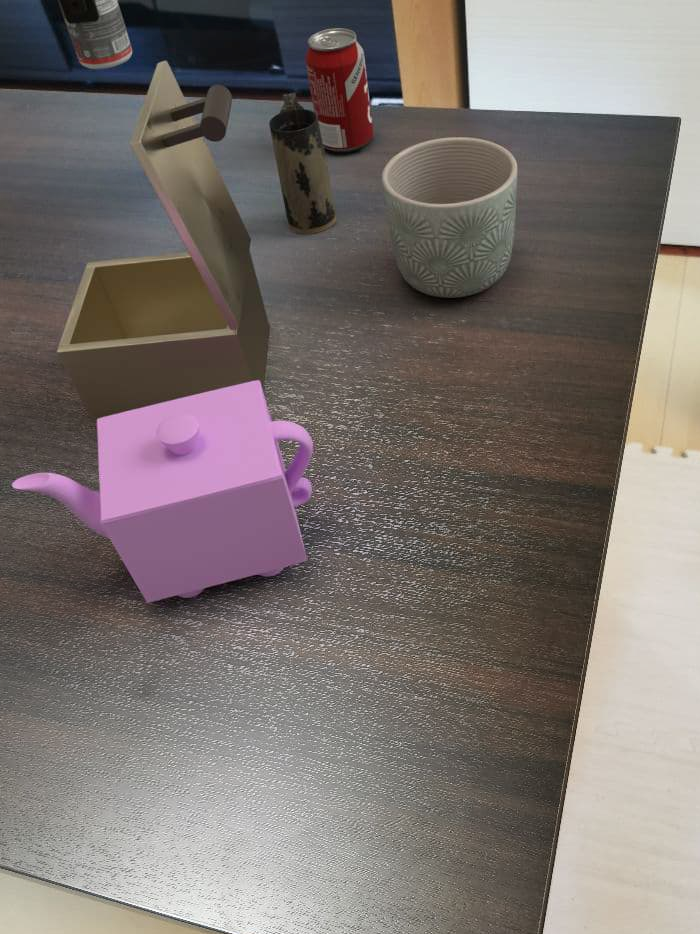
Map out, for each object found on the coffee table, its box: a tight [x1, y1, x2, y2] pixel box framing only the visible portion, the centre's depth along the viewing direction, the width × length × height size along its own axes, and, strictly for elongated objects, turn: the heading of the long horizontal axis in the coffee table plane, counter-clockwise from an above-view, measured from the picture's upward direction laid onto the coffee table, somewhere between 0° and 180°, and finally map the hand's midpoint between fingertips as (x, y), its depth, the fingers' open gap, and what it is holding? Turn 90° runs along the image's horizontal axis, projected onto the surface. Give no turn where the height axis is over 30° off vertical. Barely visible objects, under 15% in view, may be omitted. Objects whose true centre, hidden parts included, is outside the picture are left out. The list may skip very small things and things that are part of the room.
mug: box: [268, 91, 338, 235], centre depth 90 cm, size 8×6×12 cm
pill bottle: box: [57, 0, 133, 70], centre depth 85 cm, size 6×6×10 cm
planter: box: [381, 136, 519, 299], centre depth 81 cm, size 12×12×11 cm
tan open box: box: [56, 250, 271, 430], centre depth 75 cm, size 15×13×9 cm
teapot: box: [11, 380, 314, 604], centre depth 60 cm, size 20×10×12 cm, turn 105°
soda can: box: [305, 27, 374, 154], centre depth 100 cm, size 7×7×12 cm
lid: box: [129, 60, 252, 330], centre depth 65 cm, size 16×13×5 cm
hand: (89, 7), depth 85 cm, fingers closed on pill bottle, 5 cm apart
